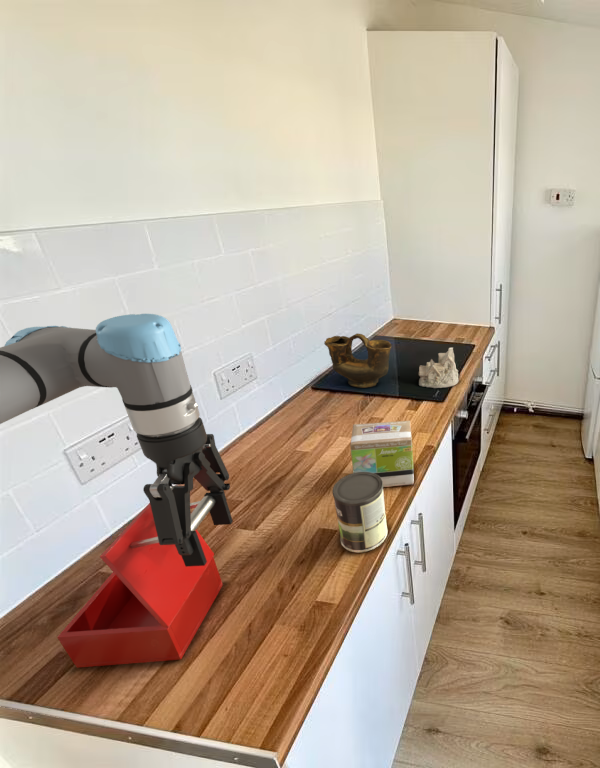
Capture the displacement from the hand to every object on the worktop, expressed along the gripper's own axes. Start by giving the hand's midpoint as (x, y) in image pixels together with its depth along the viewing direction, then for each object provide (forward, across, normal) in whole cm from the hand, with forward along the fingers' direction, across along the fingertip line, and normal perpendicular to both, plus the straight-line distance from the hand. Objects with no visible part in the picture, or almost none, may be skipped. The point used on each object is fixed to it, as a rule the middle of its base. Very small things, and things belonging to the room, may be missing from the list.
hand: (210, 542), depth 71 cm
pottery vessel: (+19, +98, -4) cm, 100 cm away
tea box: (+19, +40, -21) cm, 49 cm away
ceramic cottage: (+19, +101, -33) cm, 108 cm away
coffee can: (+19, +19, -19) cm, 33 cm away
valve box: (+19, 0, +13) cm, 23 cm away
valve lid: (+2, 0, +8) cm, 8 cm away
